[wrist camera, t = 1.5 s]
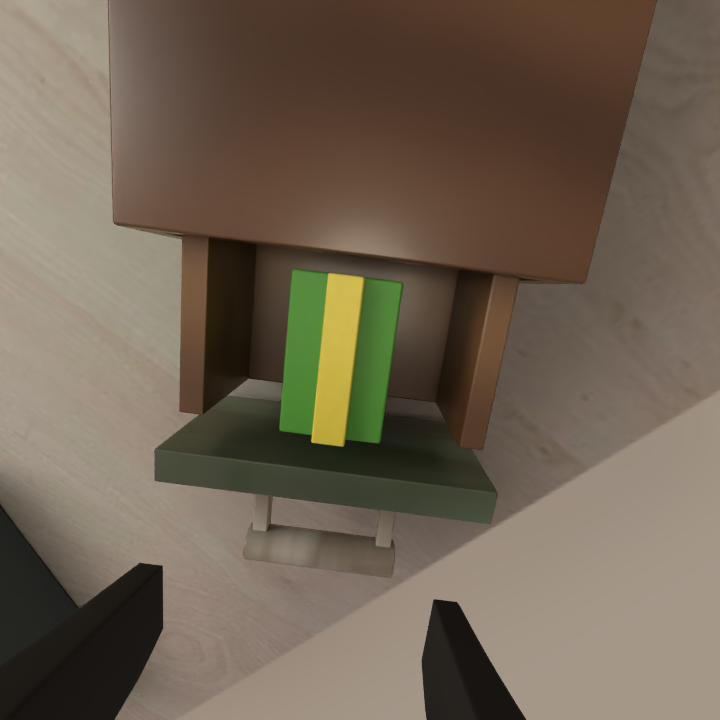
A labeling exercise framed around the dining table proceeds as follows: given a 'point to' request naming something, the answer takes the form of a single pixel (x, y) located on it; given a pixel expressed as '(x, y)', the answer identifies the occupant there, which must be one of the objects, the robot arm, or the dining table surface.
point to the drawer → (356, 458)
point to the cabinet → (376, 126)
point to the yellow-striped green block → (338, 356)
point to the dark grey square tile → (26, 593)
